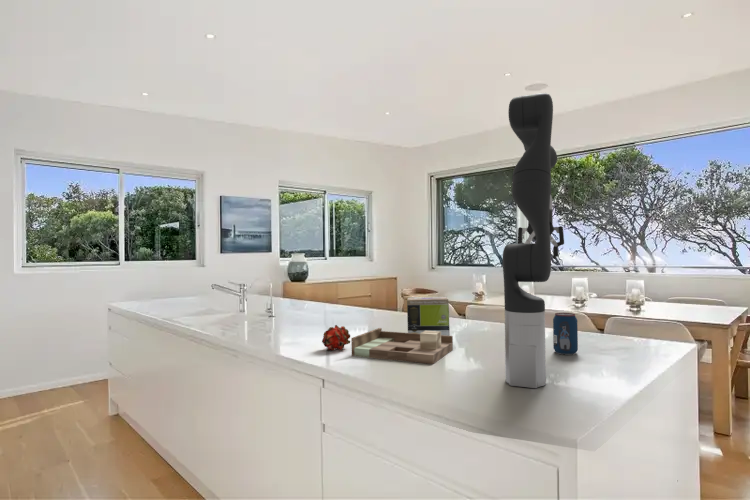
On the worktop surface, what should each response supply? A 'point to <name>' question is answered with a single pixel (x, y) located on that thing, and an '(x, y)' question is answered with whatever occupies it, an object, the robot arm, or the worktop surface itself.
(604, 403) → the worktop surface
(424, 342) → the birch block
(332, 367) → the worktop surface
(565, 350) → the soda can
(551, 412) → the worktop surface
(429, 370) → the worktop surface
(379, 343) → the trap board
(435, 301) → the tea box
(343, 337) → the dragon fruit
